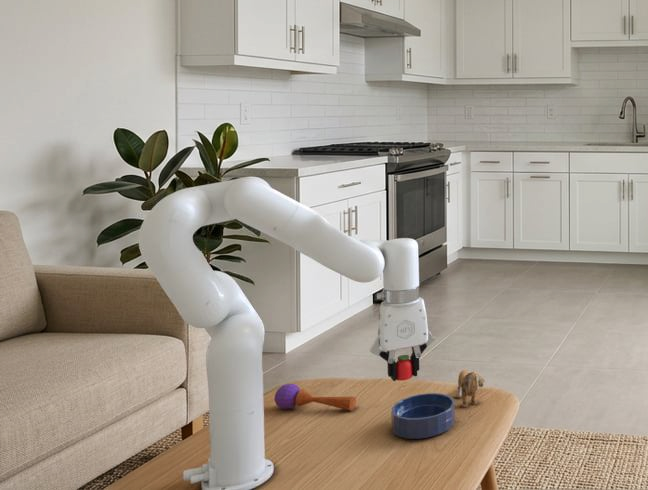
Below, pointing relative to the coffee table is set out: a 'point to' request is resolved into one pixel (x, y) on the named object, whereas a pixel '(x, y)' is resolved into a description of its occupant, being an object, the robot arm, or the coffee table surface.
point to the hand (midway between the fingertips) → (403, 375)
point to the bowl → (423, 415)
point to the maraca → (308, 398)
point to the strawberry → (404, 368)
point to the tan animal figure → (469, 385)
